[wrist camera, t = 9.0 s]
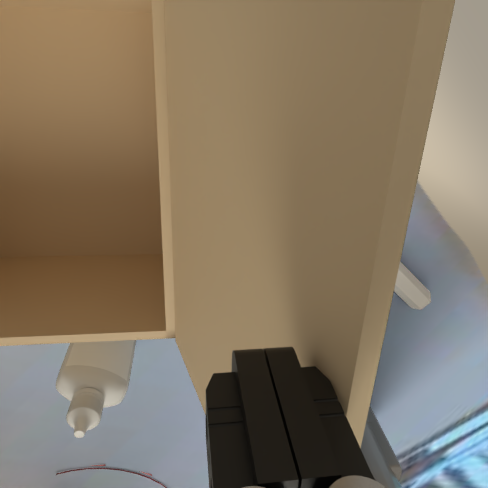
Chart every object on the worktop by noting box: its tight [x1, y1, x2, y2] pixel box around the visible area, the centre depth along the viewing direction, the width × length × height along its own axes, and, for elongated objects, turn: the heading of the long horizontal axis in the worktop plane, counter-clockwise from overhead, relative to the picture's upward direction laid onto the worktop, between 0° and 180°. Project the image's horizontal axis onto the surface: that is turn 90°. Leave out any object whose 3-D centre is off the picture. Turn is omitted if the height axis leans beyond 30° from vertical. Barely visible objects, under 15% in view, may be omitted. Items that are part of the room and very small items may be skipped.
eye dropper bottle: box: [56, 340, 136, 438], centre depth 36 cm, size 4×6×12 cm
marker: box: [394, 262, 431, 310], centre depth 41 cm, size 3×2×16 cm
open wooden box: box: [0, 0, 176, 346], centre depth 28 cm, size 16×20×12 cm
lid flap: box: [164, 0, 455, 449], centre depth 17 cm, size 17×20×1 cm
